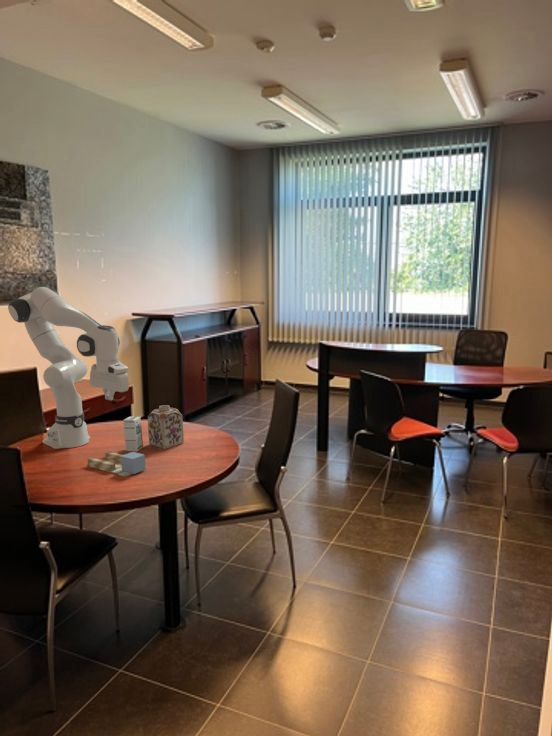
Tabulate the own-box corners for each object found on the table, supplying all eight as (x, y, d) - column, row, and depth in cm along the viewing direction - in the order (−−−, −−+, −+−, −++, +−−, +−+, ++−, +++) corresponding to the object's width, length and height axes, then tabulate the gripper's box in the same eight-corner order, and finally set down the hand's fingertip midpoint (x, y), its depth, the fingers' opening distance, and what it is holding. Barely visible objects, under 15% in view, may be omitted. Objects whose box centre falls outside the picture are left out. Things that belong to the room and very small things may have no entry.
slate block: (121, 470, 210) (120, 456, 209) (133, 466, 215) (132, 451, 214) (133, 474, 206) (132, 459, 205) (145, 469, 211) (144, 454, 210)
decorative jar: (164, 449, 236) (161, 410, 233) (148, 444, 244) (145, 406, 241) (185, 443, 245) (183, 405, 242) (169, 438, 253) (167, 401, 250)
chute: (87, 465, 218) (87, 458, 217) (109, 458, 227) (109, 451, 226) (125, 476, 205) (124, 469, 205) (147, 468, 214) (146, 460, 214)
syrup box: (137, 451, 235) (135, 419, 232) (125, 451, 236) (122, 419, 233) (143, 447, 240) (141, 416, 238) (131, 447, 241) (128, 416, 239)
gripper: (85, 364, 218) (86, 397, 220) (118, 370, 207) (119, 404, 209) (97, 362, 223) (99, 394, 225) (131, 368, 212) (132, 401, 214)
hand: (109, 399), depth 217 cm, fingers closed
